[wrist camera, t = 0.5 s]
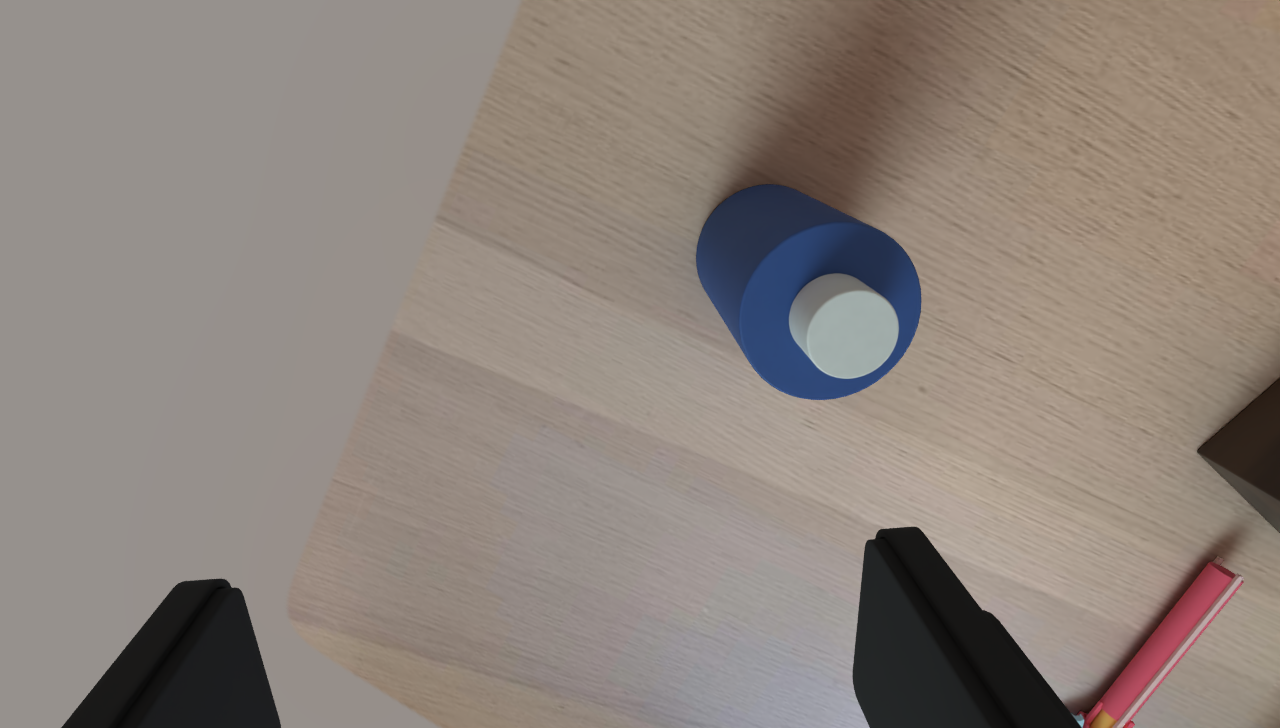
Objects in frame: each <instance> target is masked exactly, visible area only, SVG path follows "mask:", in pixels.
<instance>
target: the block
mask: <svg viewBox="0 0 1280 728" xmlns="http://www.w3.org/2000/svg"><path fill="white" fill-rule="evenodd" d="M1197 452H1198V454H1199V455H1200V456H1201V457H1202V458H1203V459H1204V460H1205V461H1206V462H1208V463H1209V464H1210V465H1211V466H1212V467H1213V468H1214V469H1215V470H1216V471H1217V472H1218V473H1219V474H1220V475H1221V476H1222V477H1223V478H1224V479H1225V480H1226V481H1227V482H1228V483H1229V484H1230V485H1231V486H1232V487H1233V488H1234V489H1235V490H1236V491H1237V492H1238V493H1239V494H1240V495H1241V496H1242V497H1243V498H1244V499H1245V500H1246V501H1247V502H1248V503H1249V504H1250V505H1252V506H1253V507H1254V508H1255V509H1256V510H1257V511H1258V512H1259V513H1260V514H1261V515H1262V516H1263V517H1264V518H1265V519H1266V520H1267V521H1268V522H1269V523H1270V524H1271V525H1272V526H1273V527H1274V528H1275V529H1276V530H1277V531H1278V532H1279V533H1280V379H1279V380H1278V381H1277V382H1275V383H1274V384H1273V385H1272V386H1271V387H1270V388H1269V389H1267V390H1266V391H1265V392H1264V393H1263V394H1262V395H1261V396H1259V397H1258V398H1257V399H1256V400H1255V401H1254V402H1253V403H1251V404H1250V405H1249V406H1248V407H1247V408H1246V409H1245V410H1243V411H1242V412H1241V413H1240V414H1239V415H1238V416H1237V417H1235V418H1234V419H1233V420H1232V421H1231V422H1230V423H1229V424H1227V425H1226V426H1225V427H1224V428H1223V429H1222V430H1221V431H1219V432H1218V433H1217V434H1216V435H1215V436H1214V437H1213V438H1211V439H1210V440H1209V441H1208V442H1207V443H1206V444H1205V445H1203V446H1202V447H1201V448H1200V449H1199V450H1198V451H1197Z"/></svg>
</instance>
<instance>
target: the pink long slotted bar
mask: <svg viewBox="0 0 1280 728" xmlns="http://www.w3.org/2000/svg"><path fill="white" fill-rule="evenodd" d="M1223 561H1224V560H1223V559H1222V558H1221V557H1218V556H1217V557H1216V559H1215V560H1214V561H1213V562H1209V563H1208V564H1207V565H1206V567H1205V568H1204V569H1203V570H1202V572H1201V573H1200V574H1199V576H1198V577H1197V578H1196V579H1195V581H1194V582H1193V583H1192V584H1191V586H1190V587H1189V588H1188V589H1187V591H1186V592H1185V593H1184V594H1183V596H1182V597H1181V598H1180V600H1179V601H1178V602H1177V603H1176V605H1175V606H1174V607H1173V608H1172V610H1171V611H1170V612H1169V613H1168V615H1167V616H1166V617H1165V618H1164V620H1163V621H1162V622H1161V624H1160V625H1159V626H1158V627H1157V629H1156V630H1155V631H1154V632H1153V634H1152V635H1151V636H1150V637H1149V639H1148V640H1147V641H1146V642H1145V644H1144V645H1143V646H1142V648H1141V649H1140V650H1139V651H1138V653H1137V654H1136V655H1135V656H1134V658H1133V659H1132V660H1131V661H1130V663H1129V664H1128V665H1127V666H1126V668H1125V669H1124V670H1123V672H1122V673H1121V674H1120V675H1119V677H1118V678H1117V679H1116V680H1115V682H1114V683H1113V684H1112V685H1111V687H1110V688H1109V689H1108V690H1107V692H1106V693H1105V694H1104V696H1103V697H1102V698H1101V699H1100V700H1099V701H1098V703H1097V704H1096V705H1095V706H1094V708H1093V709H1092V710H1091V711H1090V713H1089V714H1086V713H1084V712H1081V711H1079V713H1078V714H1077V715H1076V716H1075V715H1073V714H1072V713H1071V714H1072V715H1073V717H1074V718H1075V719H1076V721H1077V722H1078V723H1079V724H1080V726H1081V727H1082V728H1122V727H1123V726H1124V727H1123V728H1133V726H1134V725H1135V724H1134V722H1133V721H1131V719H1132V718H1133V717H1134V716H1135V714H1136V713H1137V712H1138V711H1139V710H1140V708H1141V707H1142V706H1143V705H1144V704H1145V702H1146V701H1147V700H1148V699H1149V697H1150V696H1151V695H1152V694H1153V693H1154V691H1155V690H1156V689H1157V688H1158V686H1159V685H1160V684H1161V683H1162V682H1163V680H1164V679H1165V678H1166V677H1167V675H1168V674H1169V673H1170V672H1171V671H1172V669H1173V668H1174V667H1175V666H1176V664H1177V663H1178V662H1179V661H1180V660H1181V658H1182V657H1183V656H1184V655H1185V653H1186V652H1187V651H1188V650H1189V649H1190V647H1191V646H1192V645H1193V644H1194V642H1195V641H1196V640H1197V639H1198V638H1199V636H1200V635H1201V634H1202V633H1203V631H1204V630H1205V629H1206V628H1207V627H1208V625H1209V624H1210V623H1211V622H1212V620H1213V619H1214V618H1215V617H1216V616H1217V614H1218V613H1219V612H1220V611H1221V609H1222V608H1223V607H1224V606H1225V605H1226V603H1227V602H1228V601H1229V600H1230V599H1231V597H1232V596H1233V595H1234V594H1235V592H1236V591H1237V590H1238V589H1239V588H1240V586H1241V585H1242V584H1243V583H1244V582H1243V579H1244V577H1242V576H1241V575H1239V574H1236V575H1235V574H1234V573H1232V572H1231V571H1229V570H1228V569H1226V568H1224V567H1222V566H1220V565H1221V563H1222V562H1223ZM1124 724H1125V725H1124Z"/></svg>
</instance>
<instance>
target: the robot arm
mask: <svg viewBox="0 0 1280 728" xmlns="http://www.w3.org/2000/svg"><path fill="white" fill-rule="evenodd" d="M853 685H854V690H855V694H856V697H857V700H858V702H859V704H860V707H861V709H862V711H863V713H864V716H865V718H866V720H867V722H868V724H869V727H870V728H1082V727H1081V726H1080V724H1079V723H1078V722H1077V721H1076V719H1075V718H1074V717H1073V715H1072V714H1071V713H1070V712H1069V710H1068V709H1067V708H1066V706H1065V705H1064V704H1063V703H1062V701H1061V700H1060V699H1059V697H1058V696H1057V695H1056V694H1055V692H1054V691H1053V690H1052V688H1051V687H1050V686H1049V685H1048V683H1047V682H1046V681H1045V679H1044V678H1043V677H1042V676H1041V674H1040V673H1039V672H1038V670H1037V669H1036V668H1035V667H1034V665H1033V664H1032V663H1031V661H1030V660H1029V659H1028V657H1027V656H1026V655H1025V654H1024V652H1023V651H1022V650H1021V648H1020V647H1019V646H1018V645H1017V643H1016V642H1015V641H1014V639H1013V638H1012V637H1011V636H1010V634H1009V633H1008V632H1007V630H1006V629H1005V628H1004V627H1003V625H1002V624H1001V623H1000V621H999V620H998V619H997V618H996V617H995V616H994V615H993V614H991V613H989V612H987V611H985V610H983V611H982V609H981V608H980V607H979V605H978V604H977V603H976V601H975V600H974V599H973V598H972V596H971V595H970V594H969V592H968V591H967V590H966V588H965V587H964V586H963V584H962V583H961V582H960V580H959V579H958V578H957V576H956V575H955V574H954V573H953V571H952V570H951V569H950V567H949V566H948V565H947V563H946V562H945V561H944V559H943V558H942V557H941V555H940V554H939V553H938V552H937V550H936V549H935V548H934V546H933V545H932V544H931V542H930V541H929V540H928V538H927V537H926V536H925V534H924V533H923V532H922V531H921V530H920V529H919V528H918V527H904V528H890V529H881V530H879V531H878V532H877V534H876V538H875V539H872V540H868V541H867V542H866V545H865V551H864V561H863V572H862V582H861V592H860V602H859V613H858V623H857V633H856V644H855V654H854V664H853ZM62 728H281V724H280V720H279V716H278V713H277V710H276V706H275V703H274V700H273V696H272V692H271V689H270V685H269V682H268V679H267V675H266V672H265V669H264V665H263V661H262V658H261V655H260V651H259V647H258V644H257V641H256V637H255V634H254V630H253V627H252V623H251V620H250V617H249V613H248V609H247V606H246V603H245V600H244V596H243V594H242V591H241V590H240V589H239V588H231V586H230V583H229V582H228V581H227V580H225V579H209V580H198V581H197V580H196V581H184V582H181V583H178V584H177V585H176V586H175V587H174V588H173V589H172V591H171V592H170V593H169V594H168V595H167V597H166V598H165V599H164V600H163V602H162V603H161V604H160V605H159V607H158V608H157V609H156V610H155V612H154V613H153V614H152V615H151V617H150V618H149V619H148V621H147V622H146V623H145V624H144V625H143V627H142V628H141V629H140V630H139V632H138V633H137V634H136V635H135V637H134V638H133V639H132V640H131V642H130V643H129V644H128V645H127V646H126V648H125V649H124V650H123V651H122V653H121V654H120V655H119V657H118V658H117V659H116V661H114V663H113V664H112V665H111V667H110V668H109V669H108V670H107V671H106V673H105V674H104V675H103V676H102V678H101V679H100V680H99V681H98V683H97V684H96V685H95V686H94V688H93V689H92V690H91V691H90V693H89V694H88V695H87V696H86V698H85V699H84V700H83V701H82V703H81V704H80V705H79V706H78V708H77V709H76V710H75V711H74V713H73V714H72V715H71V717H70V718H69V719H68V720H67V721H66V723H65V724H64V725H63V726H62Z"/></svg>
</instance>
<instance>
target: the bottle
mask: <svg viewBox="0 0 1280 728" xmlns="http://www.w3.org/2000/svg"><path fill="white" fill-rule="evenodd" d="M696 263H697V270H698V275H699V278H700V281H701V284H702V286H703V288H704V290H705V291H706V293H707V295H708V296H709V298H710V299H711V301H712V303H713V304H714V306H715V307H716V309H717V311H718V312H719V314H720V316H721V317H722V319H723V320H724V322H725V324H726V325H727V327H728V329H729V330H730V332H731V333H732V335H733V337H734V338H735V340H736V341H737V343H738V345H739V346H740V348H741V350H742V351H743V353H744V354H745V356H746V358H747V359H748V361H749V362H750V364H751V365H752V367H753V368H754V370H755V371H756V372H757V373H758V374H759V375H760V376H761V378H762V379H764V380H765V381H766V382H767V383H769V384H770V385H771V386H773V387H774V388H776V389H778V390H779V391H782V392H784V393H786V394H789V395H792V396H795V397H799V398H804V399H811V400H827V399H835V398H840V397H844V396H848V395H851V394H853V393H856V392H859V391H861V390H863V389H865V388H867V387H869V386H870V385H872V384H873V383H875V382H877V381H878V380H879V379H881V378H882V377H883V376H884V375H886V374H887V373H888V372H889V371H890V370H891V369H892V368H893V367H894V366H895V365H896V364H897V363H898V361H899V360H900V359H901V358H902V356H903V355H904V353H905V352H906V350H907V349H908V347H909V345H910V343H911V341H912V339H913V337H914V335H915V332H916V329H917V326H918V323H919V318H920V313H921V288H920V283H919V278H918V275H917V272H916V270H915V267H914V265H913V263H912V261H911V259H910V258H909V256H908V255H907V253H906V252H905V251H904V249H903V248H902V247H901V246H900V245H899V244H898V243H897V242H896V241H895V240H894V239H892V238H891V237H890V236H888V235H887V234H885V233H884V232H882V231H880V230H878V229H876V228H874V227H872V226H870V225H868V224H866V223H863V222H861V221H859V220H857V219H855V218H853V217H851V216H849V215H847V214H845V213H843V212H841V211H839V210H837V209H834V208H832V207H830V206H828V205H826V204H824V203H822V202H820V201H818V200H816V199H814V198H812V197H810V196H808V195H805V194H803V193H801V192H799V191H797V190H795V189H792V188H789V187H786V186H781V185H773V184H766V185H757V186H753V187H749V188H746V189H743V190H741V191H739V192H737V193H735V194H733V195H732V196H730V197H729V198H727V199H726V200H724V201H723V202H722V203H721V204H720V205H719V206H718V207H717V208H716V209H715V210H714V211H713V213H712V214H711V215H710V217H709V218H708V220H707V221H706V223H705V225H704V227H703V229H702V231H701V234H700V237H699V240H698V245H697V253H696Z"/></svg>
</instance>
